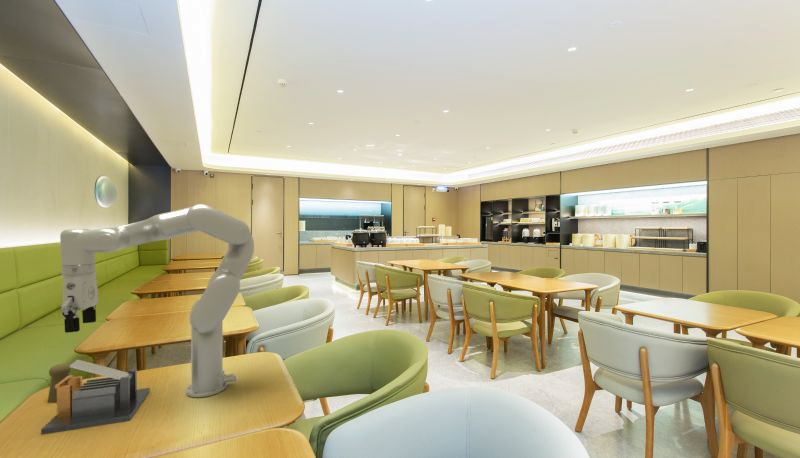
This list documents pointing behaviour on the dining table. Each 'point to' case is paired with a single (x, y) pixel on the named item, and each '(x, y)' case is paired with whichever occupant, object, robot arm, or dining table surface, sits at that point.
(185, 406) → the dining table surface
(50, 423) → the heat sink base
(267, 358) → the dining table surface
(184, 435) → the dining table surface
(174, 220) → the robot arm
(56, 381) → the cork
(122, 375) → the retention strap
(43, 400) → the dining table surface
